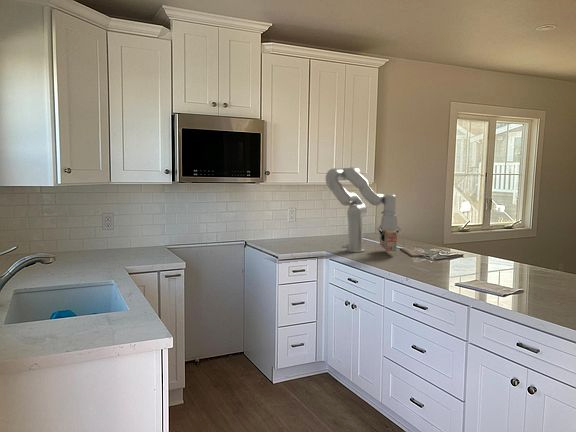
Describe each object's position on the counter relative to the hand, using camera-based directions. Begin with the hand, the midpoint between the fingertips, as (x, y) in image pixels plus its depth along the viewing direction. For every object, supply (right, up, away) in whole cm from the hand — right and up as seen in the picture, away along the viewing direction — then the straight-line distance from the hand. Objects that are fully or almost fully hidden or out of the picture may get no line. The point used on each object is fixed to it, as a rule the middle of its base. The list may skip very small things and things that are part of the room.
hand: (388, 240), depth 303 cm
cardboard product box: (0, -5, +2) cm, 5 cm away
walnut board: (+18, -8, +1) cm, 20 cm away
